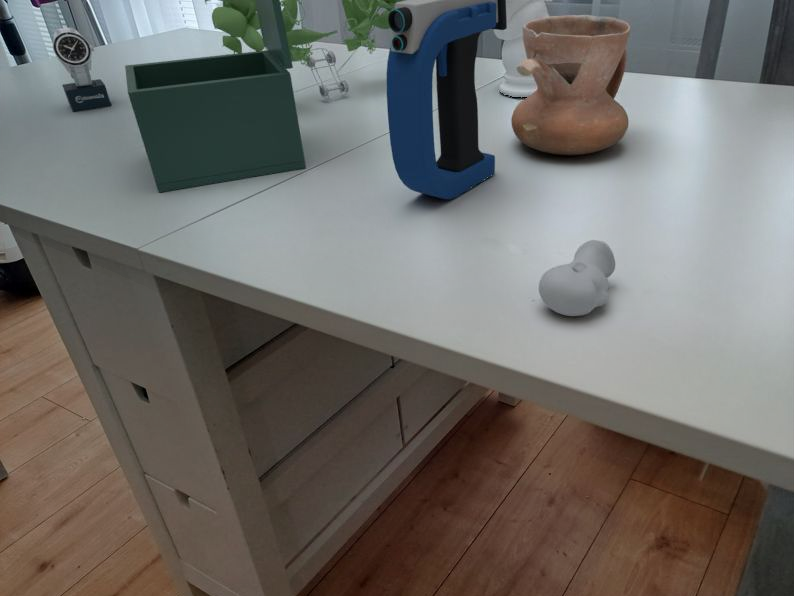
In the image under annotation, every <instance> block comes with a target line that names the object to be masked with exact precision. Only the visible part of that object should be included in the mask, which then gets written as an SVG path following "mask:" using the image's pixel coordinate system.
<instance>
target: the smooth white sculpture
mask: <svg viewBox="0 0 794 596" xmlns="http://www.w3.org/2000/svg"><path fill="white" fill-rule="evenodd" d="M615 269H616V259H615V256H614V252H613V250H612V249H611V247H610V245H608V244H607V243H606V242H604V241H602V240H598V239H590V240H588V241H586V242H584V243H583V244H582V245H581V246H579V247H578V249H577V250H576V252H575V253H574V257H573V260H572V261H570V262H569V263H564V264H560V265H556V266H554V267H552V268H550V269H548V270H546V271H545V272H544V273H543V275H541V278H540V280H539V283H538V292H539V296H540V298H541V300H542V301H543V303H544V304H545V306H546V307H548V308H549V309H550V310H552V312H555V313H557V314H559V315H563V316H568V317H580V316H581V317H582V316H585V315H588V314H590V313H591V312H592V311H593V310H594V309H595V308H598V307H600V306H605V305H606V304H607V303H608V300H609V298H608V297H609V296H608V290H609V289H610V281H609V279H608V278H609V277H611V276H612V275H613V274H614V272H615Z"/></svg>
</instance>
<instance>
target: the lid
mask: <svg viewBox="0 0 794 596" xmlns="http://www.w3.org/2000/svg"><path fill="white" fill-rule="evenodd" d="M254 1H255V5H256V10H257V15H258V19H259V24H260V28H261V29H260V34H261V36H262V38H263V42H264V46H265V47H264V49H265V48H266V49H265V50H268V51H269V52H270V53H271V54H272V55H273V56H274V57H275V58H276V59H277V60H278V61H279V62H280V63H281V64H282V65H283V66H284V67H285V69H286V70H290V69H294V64H293V62H292V60H291V55H290V50H289V45H288V40H287V35H286V30H285V24H284V19H283V14H282V10H283V8H282V6H281V4H282V3H281V4H280V2H281V0H254Z"/></svg>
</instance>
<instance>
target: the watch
mask: <svg viewBox="0 0 794 596" xmlns="http://www.w3.org/2000/svg"><path fill="white" fill-rule="evenodd" d="M54 30H55V31H54V32H53V41H52V50H53V54H54V55H55V56H56V58H57V60H58V61H59V62H60V63H61V64H62V66H63V67H64V68H65V70H66V71H67V72H68V74H69V75H70V77H71V79H73V82H70V83H64V84H62V88H63V91H64V94H65V96H66V99H67V102H68V105H69V107H70V109H71V110H72V113H74V112H80V111H81V112H82V111H86V110H94V109H99V108H106V107H111V106H112V102H111V99H110V96H109V93H108V90H107V86H106V85H105V83H104V81H102V79H100V78H99V79H92V75H91V73H90V71H92V53H93V52H95V48H94V46H93V45H91V44H90V43H89V42H88V40H87V39H86V38H85V37H84V36H82V34H81V33H80V32H79V30H77V29H74V27H63V28H55V29H54Z"/></svg>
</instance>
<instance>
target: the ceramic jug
mask: <svg viewBox="0 0 794 596" xmlns="http://www.w3.org/2000/svg"><path fill="white" fill-rule="evenodd" d="M549 16H550V17H546V18H545V17H544V18H538V19H534V20H531V21H529V22H526V23H525V24H524V25H523V41H524V47H525V51H526V56H527V60H525V61H523V62H522V63H521V64H519V65H518V67H517V71H518V73H520V75H522V76H529V75H531V74H533V77H534V80H535V82H536V84H537V90H536V91H535V92H534V93H532V94H531V95H530V96H529V97H527V98H523V99H522V101H520V102H519V103H518V104H517V106H515V108H514V110H513V112H512V115H511V119H510V120H511V128H512V132H513V133H514V135H515V136H516V139H518V141H520V142H522V144H524V145H526V146H527V147H529V148H531V149H534V150H536V151H539V152H542V153H546V154H551V155H559V156H579V155H587V154H592V153H597V152H600V151H603V150H606V149H607V148H608V149H609V148H610V147H612V146H613V145H615V144H616V143H618V142H619V141H621V140H622V138H623V137H624V136H625V134H626V133H627V130H628V128H629V122H630V121H629V117H628V114H627V111H626V109H625V108H624V107H623V105H621V104H620V103H619V102H618V101H617V100H616V99H615V98H616V96H617V94H618V92H619V89H620V87H621V83H622V81H623V78H624V74H625V71H626V67H627V60H628V59H627V55H628V54H627V49H626V47H627V45H628V44H627V43H628V40H629V37H630V33H631V26H630V24H629V22H627V21H626V20H625V21H624V20H623V19H618V18H617V17H613V16H606V15H601V16H600V15H599V16H597V15H596V16H595V15H591V14H578V15H575V14H569V15H568V14H567V15H549Z"/></svg>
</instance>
